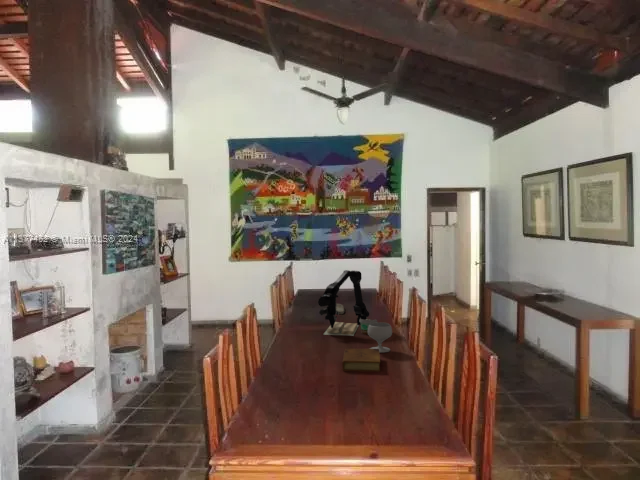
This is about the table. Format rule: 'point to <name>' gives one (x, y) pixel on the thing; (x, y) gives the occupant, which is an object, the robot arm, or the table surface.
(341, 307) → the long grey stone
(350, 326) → the oak board
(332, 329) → the plank
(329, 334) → the underlay mat
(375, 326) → the chalice
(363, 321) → the food container
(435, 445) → the table surface
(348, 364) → the diary
